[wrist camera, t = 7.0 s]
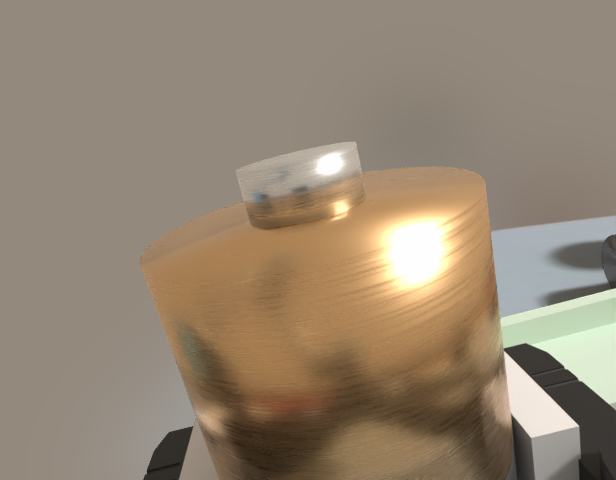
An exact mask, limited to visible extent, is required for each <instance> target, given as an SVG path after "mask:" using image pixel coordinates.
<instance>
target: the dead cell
mask: <svg viewBox="0 0 616 480" xmlns="http://www.w3.org/2000/svg"><path fill="white" fill-rule="evenodd" d="M602 264H603V268H604V272H605V275H606V278H607V280H608V282H609V284H610V286H611V288H612V289H615V288H616V235H611V236H609V237H608V238H607V239H606V240H605V241H604V244H603V247H602Z"/></svg>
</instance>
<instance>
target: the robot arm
mask: <svg viewBox="0 0 616 480" xmlns="http://www.w3.org/2000/svg"><path fill="white" fill-rule="evenodd" d="M504 357H505V366H506V375H507V384H508V393H509V402H510V411H511V420H512V429H513V438H514V447H515V456H516V465H517V474H518V480H616V410H615V409H614V408H613V407H612V406H611V405H609V404H608V403H607V402H606V401H605V400H604V399H602V398H601V397H600V396H599V395H598V394H596V393H595V392H594V391H593V390H592V389H590V388H589V387H588V386H587V385H586V384H585V383H583V382H582V381H579V380H578V378H577V377H576V376H575V375H574V374H573V373H572V372H570V371H569V370H568V369H565V368H564V366H563V365H562V364H561V363H560V362H559V361H557V360H556V359H555V358H554V357H553V356H551V355H550V354H549V353H548V352H546V351H543V350H541V349H539V348H536V347H534V346H532V345H529V344H527V343H524V344H520V345H515V346H511V347H507V348H504ZM143 480H219V478H218V476H217V473H216V470H215V468H214V465H213V462H212V459H211V457H210V454H209V451H208V448H207V446H206V443H205V440H204V437H203V435H202V432H201V429H200V427H199V424H198V421H197V418H196V419H195V423H194V426H192V427H188V428H184V429H180V430H176V431H172V432H169V433H168V434H167V435H166V437H165V438H164V439H163V440H162V442H161V443H160V444H159V446H158V447H157V448H156V449H155V451H154V453H153V455H152V458H151V461H150V463H149V466H148V469H147V474H146V475H145V477H144V479H143Z"/></svg>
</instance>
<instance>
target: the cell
mask: <svg viewBox="0 0 616 480" xmlns="http://www.w3.org/2000/svg"><path fill="white" fill-rule="evenodd" d="M236 174H237V177H238V182H239V185H240V189H241V192H242V196H243V200H244V201H242V202H239V203H236V204H233V205H230V206H227V207H225V208H222V209H219V210H216V211H214V212H212V213H209V214H206V215H204V216H201V217H199V218H197V219H195V220H192V221H190V222H188V223H186V224H184V225H182V226H180V227H178V228H176V229H174V230H172V231H170V232H168V233H167V234H165V235H164V236H162V237H161V238H159V239H157V240H156V241H155V242H154V243H152V244H151V245H150V246H149V247H148V248H147V249H146V250H145V251H144V252H143V254H142V255H141V257H140V265H141V268H142V271H143V273H144V276H145V279H146V282H147V284H148V287H149V290H150V292H151V295H152V298H153V301H154V303H155V306H156V309H157V312H158V314H159V317H160V320H161V322H162V325H163V328H164V331H165V333H166V336H167V339H168V342H169V344H170V347H171V350H172V353H173V355H174V358H175V361H176V364H177V366H178V369H179V371H180V374H181V377H182V380H183V383H184V386H185V388H186V391H187V394H188V396H189V399H190V402H191V405H192V407H193V410H194V413H195V416H196V418H197V421H198V424H199V427H200V429H201V432H202V435H203V437H204V440H205V443H206V446H207V448H208V451H209V454H210V457H211V459H212V462H213V465H214V468H215V470H216V473H217V476H218V478H219V480H518V474H517V465H516V456H515V447H514V438H513V429H512V420H511V411H510V402H509V393H508V384H507V375H506V366H505V357H504V348H503V339H502V330H501V321H500V312H499V303H498V294H497V285H496V276H495V267H494V258H493V249H492V240H491V231H490V222H489V213H488V204H487V195H486V186H485V181H484V179H483V177H481V176H480V175H479V174H477V173H475V172H472V171H469V170H464V169H460V168H452V167H409V168H396V169H387V170H378V171H371V172H364V173H362V171H361V166H360V161H359V156H358V151H357V145H356V142H344V143H337V144H331V145H325V146H320V147H315V148H310V149H306V150H301V151H297V152H293V153H289V154H285V155H281V156H277V157H273V158H270V159H266V160H263V161H259V162H257V163H253V164H250V165H247V166H245V167H242V168H240V169H238V170H236Z"/></svg>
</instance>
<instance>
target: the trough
mask: <svg viewBox="0 0 616 480" xmlns="http://www.w3.org/2000/svg"><path fill="white" fill-rule="evenodd" d="M500 321H501V330H502V339H503V348H507V347H511V346H515V345H520V344H524V343H527V344H529V345H532V346H534V347H536V348H539V349H541V350H543V351H546V352H548V353H549V354H550V355H551V356H553V357H554V358H555V359H556V360H557V361H559V362H560V363H561V364H562V365H563V366H564V368H565V369H568V370H569V371H570V372H572V373H573V374H574V375H575V376H576V377H577V378H578V380H579V381H582V382H583V383H585V384H586V385H587V386H588V387H589V388H590V389H592V390H593V391H594V392H595V393H596V394H598V395H599V396H600V397H601V398H602V399H604V400H605V401H606V402H607V403H608V404H609V405H611V406H612V407H613V408H614V409H615V410H616V288H615V289H611V290H607V291H603V292H600V293H596V294H592V295H588V296H584V297H580V298H576V299H573V300H569V301H565V302H561V303H557V304H553V305H549V306H546V307H542V308H538V309H534V310H530V311H526V312H522V313H519V314H515V315H511V316H507V317H503V318H500Z"/></svg>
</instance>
